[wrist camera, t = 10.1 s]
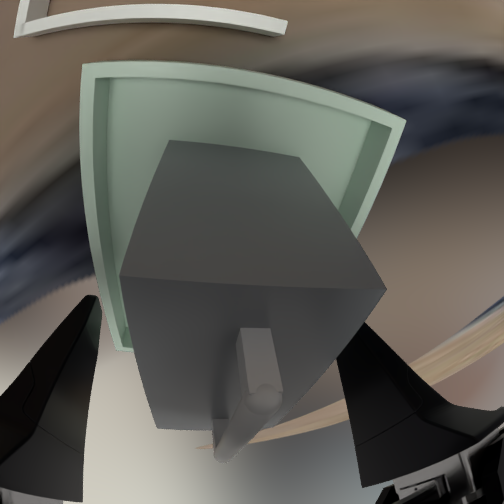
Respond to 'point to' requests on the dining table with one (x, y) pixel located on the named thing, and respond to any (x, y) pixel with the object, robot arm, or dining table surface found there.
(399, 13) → the dining table surface
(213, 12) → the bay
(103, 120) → the tray
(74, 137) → the dining table surface
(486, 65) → the dining table surface
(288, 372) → the grey box with tab
